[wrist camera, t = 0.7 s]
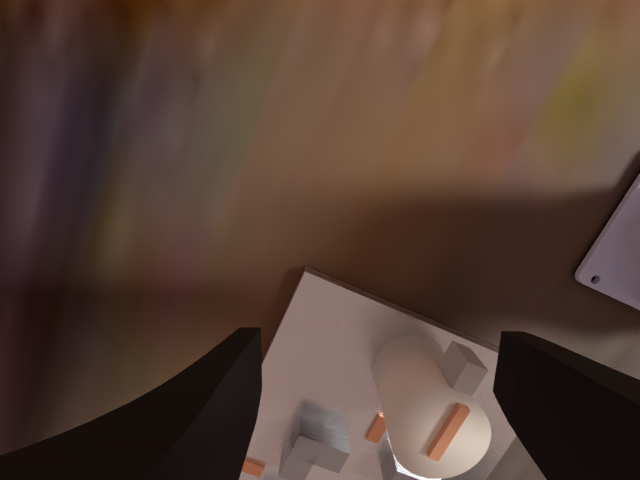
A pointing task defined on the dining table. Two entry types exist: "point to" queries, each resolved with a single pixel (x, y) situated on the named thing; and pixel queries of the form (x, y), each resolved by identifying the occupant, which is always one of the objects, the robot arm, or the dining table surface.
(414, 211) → the dining table surface
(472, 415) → the knob
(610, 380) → the robot arm
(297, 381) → the hub plate
